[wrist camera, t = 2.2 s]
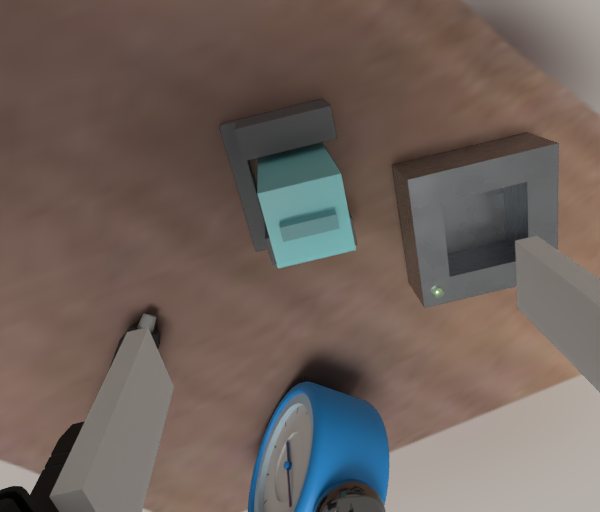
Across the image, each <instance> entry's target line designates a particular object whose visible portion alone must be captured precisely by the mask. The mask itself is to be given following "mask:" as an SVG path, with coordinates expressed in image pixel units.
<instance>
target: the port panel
mask: <svg viewBox="0 0 600 512" xmlns="http://www.w3.org/2000/svg"><path fill="white" fill-rule="evenodd" d="M558 163H559V143H557V142H554V141H551V140H548V139H545V138H542V137H539V136H536V135H533V134H530V133H523V134H519V135H514V136H510V137H506V138H502V139H498V140H494V141H490V142H486V143H482V144H477V145H473V146H469V147H465V148H461V149H457V150H453V151H449V152H445V153H440V154H436V155H432V156H428V157H424V158H420V159H416V160H412V161H408V162H403V163H399V164H395V165H392V170H393V177H394V184H395V191H396V198H397V204H398V211H399V218H400V225H401V232H402V239H403V246H404V253H405V260H406V267H407V274H408V281H409V284H410V286H411V287H412V289H413V290H414V292H415V294H416V295H417V297H418V298H419V300H420V302H421V303H422V305H423V306H424V308H427V307H431V306H435V305H439V304H444V303H448V302H452V301H456V300H461V299H465V298H469V297H473V296H478V295H482V294H486V293H490V292H494V291H499V290H503V289H507V288H511V287H516V286H517V282H516V254H515V241H516V240H520V239H524V238H529V237H533V236H538V237H540V238H541V239H543V240H544V241H546V242H547V243H548V244H550V245H551V246H553V247H554V248H556V249H557V250H558Z"/></svg>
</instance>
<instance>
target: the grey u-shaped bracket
mask: <svg viewBox="0 0 600 512" xmlns="http://www.w3.org/2000/svg"><path fill="white" fill-rule="evenodd" d="M219 128H220V132H221V135H222V138H223V142H224V145H225V149H226V152H227V155H228V159H229V162H230V166H231V169H232V172H233V176H234V179H235V183H236V186H237V189H238V193H239V196H240V200H241V203H242V206H243V210H244V213H245V217H246V220H247V223H248V227H249V230H250V234H251V237H252V240H253V244H254V247H255V251H256V252H257V251H261V250H265V249H268V251H269V255H270V258H271V262H272V265H275V264H277V263H276V259H275V256H274V252H273V249H272V245H271V241H270V238H269V234H268V231H267V227H266V223H265V220H264V216H263V212H262V209H261V205H260V202H259V198H258V194H257V190H256V186H255V183H254V179H253V175H252V172H251V168H250V165H249V161H248V160H251V159H255V158H260V157H264V156H268V155H272V154H276V153H280V152H284V151H288V150H292V149H296V148H300V147H304V146H308V145H313V144H317V143H321V142H325V141H329V140H333V139H337V136H336V130H335V125H334V120H333V115H332V109H331V105H329V104H328V103H327V102H326V101H325V100H324V99H319V100H315V101H311V102H307V103H303V104H299V105H295V106H291V107H287V108H283V109H279V110H275V111H271V112H267V113H263V114H259V115H255V116H250V117H246V118H242V119H238V120H234V121H230V122H226V123H222V124H220V125H219ZM348 212H349V211H348ZM349 217H350V222H351V227H352V232H353V238H354V243H355V245H357V240H356V235H355V230H354V225H353V220H352V217H351V215H350V213H349Z"/></svg>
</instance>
